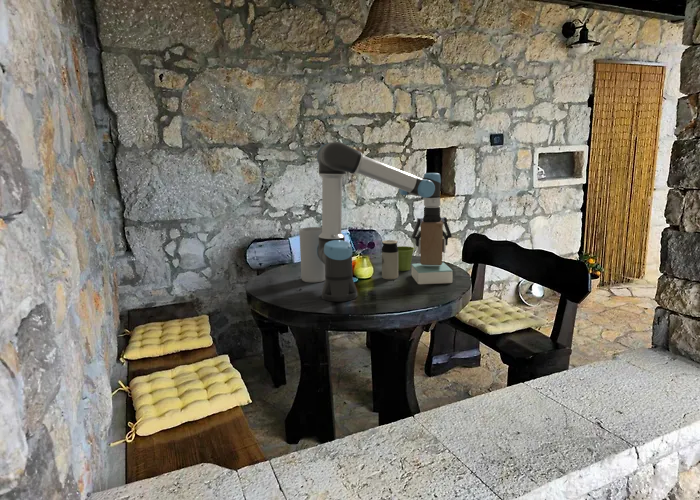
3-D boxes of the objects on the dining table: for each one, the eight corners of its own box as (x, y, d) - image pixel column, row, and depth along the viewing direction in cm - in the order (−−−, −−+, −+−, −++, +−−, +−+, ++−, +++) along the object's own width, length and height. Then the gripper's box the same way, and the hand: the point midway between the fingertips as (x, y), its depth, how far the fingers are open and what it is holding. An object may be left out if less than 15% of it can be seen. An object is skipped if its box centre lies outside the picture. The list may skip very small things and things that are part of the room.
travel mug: (398, 275, 233) (398, 239, 229) (398, 279, 225) (398, 242, 222) (382, 275, 234) (381, 240, 230) (381, 279, 226) (381, 243, 222)
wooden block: (442, 265, 217) (442, 223, 213) (420, 265, 219) (420, 223, 215) (442, 261, 227) (442, 220, 223) (421, 260, 229) (421, 220, 225)
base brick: (418, 284, 216) (418, 271, 215) (411, 275, 232) (411, 263, 231) (452, 282, 217) (452, 270, 216) (443, 274, 233) (443, 262, 232)
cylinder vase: (324, 275, 237) (322, 226, 232) (329, 281, 225) (327, 230, 220) (299, 277, 234) (297, 228, 229) (303, 284, 222) (301, 231, 217)
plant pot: (391, 267, 251) (390, 246, 249) (413, 266, 250) (413, 246, 248) (392, 272, 239) (392, 250, 237) (415, 272, 239) (415, 250, 236)
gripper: (408, 208, 213) (408, 255, 218) (459, 206, 215) (458, 253, 219) (405, 206, 221) (405, 252, 225) (454, 205, 222) (453, 250, 226)
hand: (431, 252), depth 222 cm, fingers closed on wooden block, 11 cm apart
